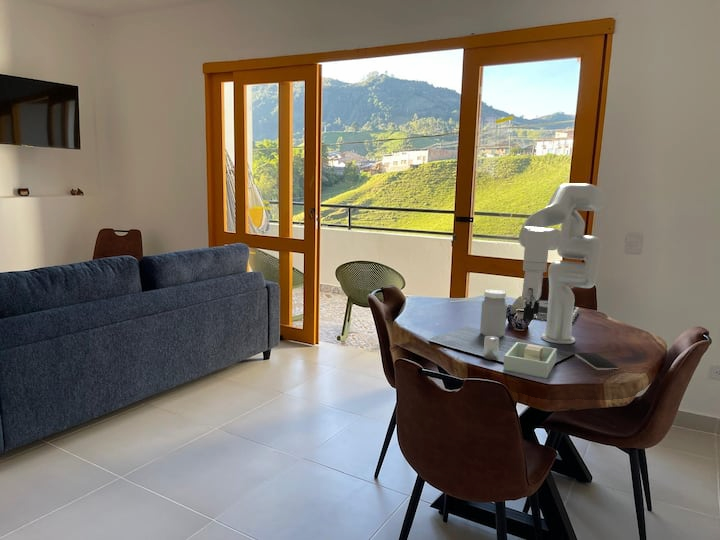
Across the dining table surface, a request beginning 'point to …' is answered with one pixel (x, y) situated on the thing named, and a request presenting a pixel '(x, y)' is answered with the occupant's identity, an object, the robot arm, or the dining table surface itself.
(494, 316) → the jar
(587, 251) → the robot arm
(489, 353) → the aluminium cylinder
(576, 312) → the speaker stand
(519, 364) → the tote
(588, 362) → the smartphone
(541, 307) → the streaming box
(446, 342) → the dining table surface
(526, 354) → the maple cube
